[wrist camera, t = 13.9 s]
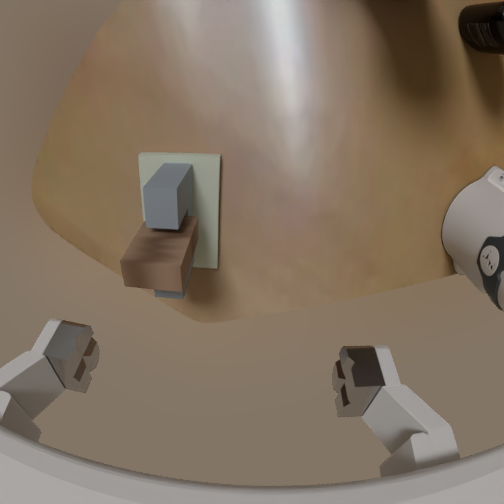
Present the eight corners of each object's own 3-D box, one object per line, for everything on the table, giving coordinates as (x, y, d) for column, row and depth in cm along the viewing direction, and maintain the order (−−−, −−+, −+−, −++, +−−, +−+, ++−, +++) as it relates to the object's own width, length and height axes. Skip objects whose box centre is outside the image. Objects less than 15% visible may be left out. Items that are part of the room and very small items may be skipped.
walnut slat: (198, 216, 38) (180, 266, 29) (198, 238, 39) (182, 292, 31) (149, 213, 37) (120, 261, 29) (151, 235, 39) (124, 286, 31)
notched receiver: (220, 154, 37) (210, 180, 30) (218, 264, 46) (210, 307, 39) (141, 152, 37) (112, 178, 30) (150, 259, 46) (131, 300, 38)
